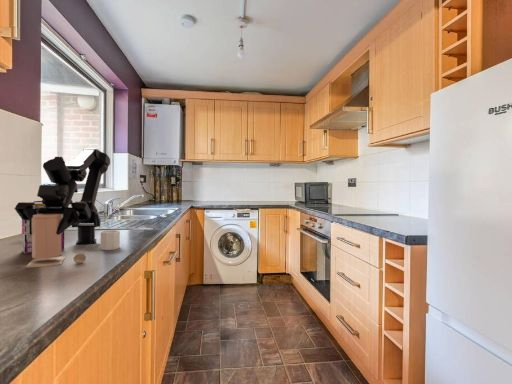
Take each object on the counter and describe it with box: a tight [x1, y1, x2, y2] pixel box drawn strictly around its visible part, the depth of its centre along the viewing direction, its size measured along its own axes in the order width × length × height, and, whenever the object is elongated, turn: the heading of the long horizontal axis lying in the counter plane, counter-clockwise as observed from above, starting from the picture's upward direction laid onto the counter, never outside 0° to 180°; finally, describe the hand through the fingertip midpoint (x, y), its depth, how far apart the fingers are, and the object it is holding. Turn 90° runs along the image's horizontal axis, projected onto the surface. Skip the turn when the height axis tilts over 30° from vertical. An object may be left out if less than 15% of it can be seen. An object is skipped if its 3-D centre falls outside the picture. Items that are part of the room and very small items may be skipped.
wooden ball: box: [73, 252, 87, 265], centre depth 82 cm, size 3×3×3 cm
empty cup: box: [100, 229, 121, 251], centre depth 102 cm, size 6×6×6 cm
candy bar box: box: [21, 202, 65, 255], centre depth 96 cm, size 11×5×16 cm, turn 141°
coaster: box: [25, 256, 66, 269], centre depth 82 cm, size 8×8×1 cm
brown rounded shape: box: [31, 213, 62, 259], centre depth 82 cm, size 6×6×12 cm
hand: (44, 234), depth 81 cm, fingers closed on brown rounded shape, 6 cm apart
